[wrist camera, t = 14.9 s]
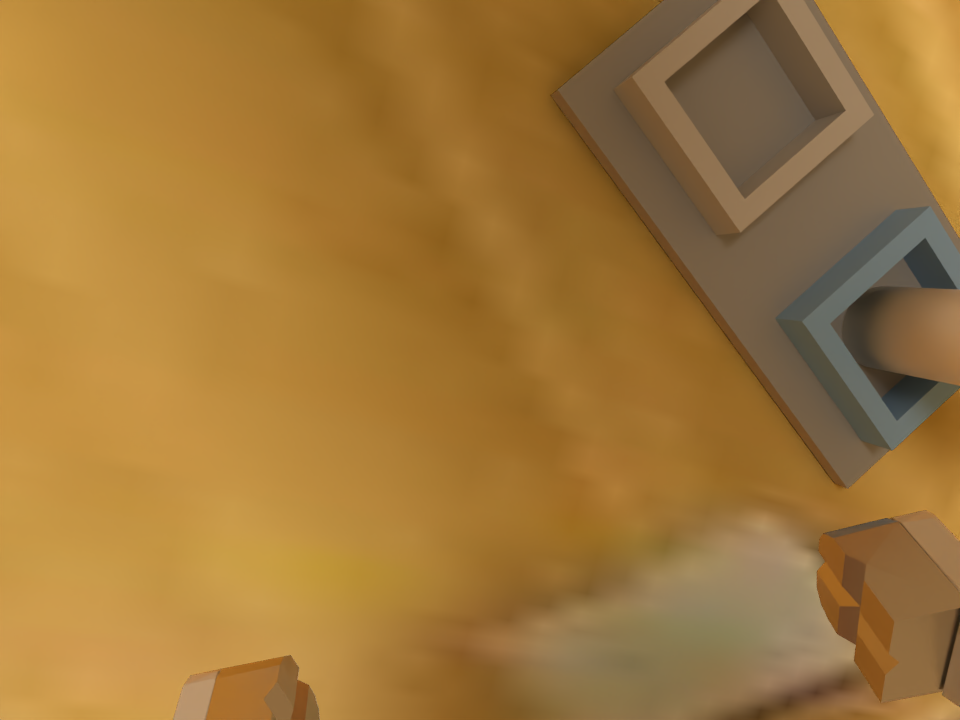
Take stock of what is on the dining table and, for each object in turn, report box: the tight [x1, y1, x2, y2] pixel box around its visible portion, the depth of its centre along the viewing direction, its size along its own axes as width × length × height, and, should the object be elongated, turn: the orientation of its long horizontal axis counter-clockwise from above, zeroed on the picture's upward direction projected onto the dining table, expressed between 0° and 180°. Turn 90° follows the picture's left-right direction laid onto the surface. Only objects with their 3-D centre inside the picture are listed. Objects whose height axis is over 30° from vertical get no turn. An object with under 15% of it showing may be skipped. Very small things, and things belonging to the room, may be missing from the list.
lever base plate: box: [551, 0, 960, 489], centre depth 32 cm, size 24×12×3 cm, turn 40°
